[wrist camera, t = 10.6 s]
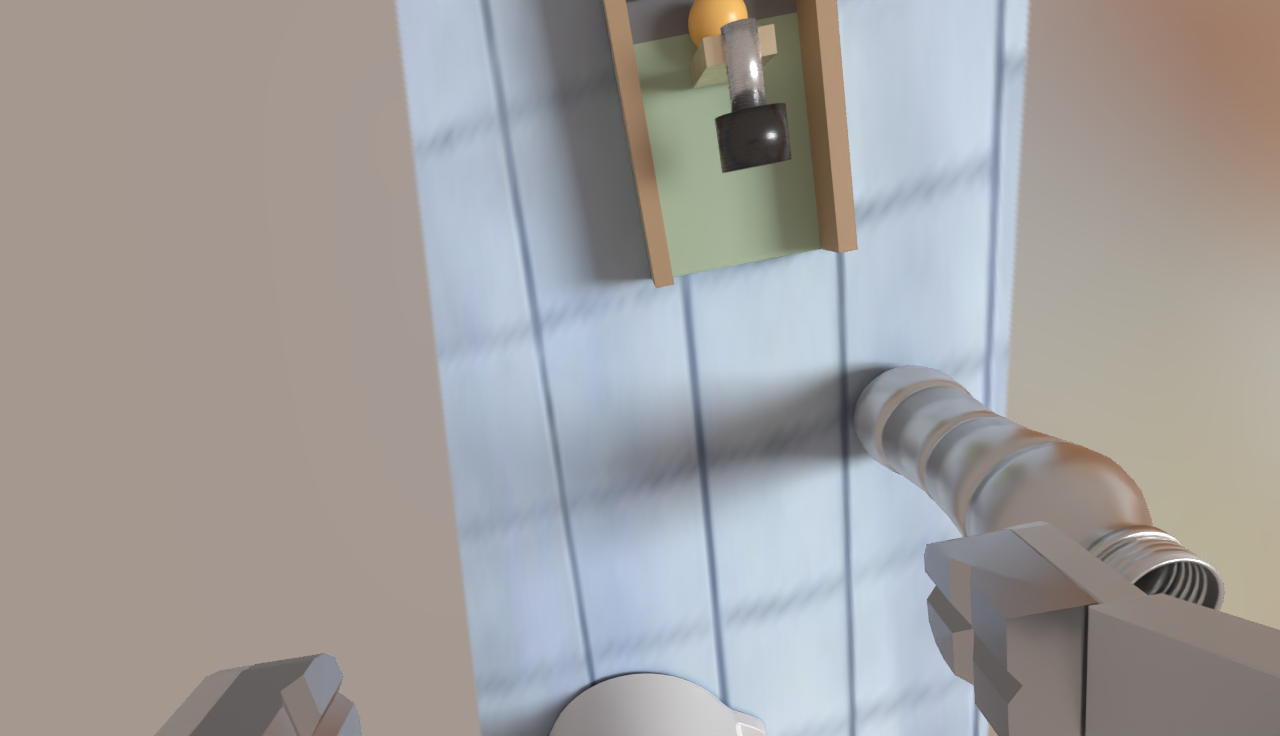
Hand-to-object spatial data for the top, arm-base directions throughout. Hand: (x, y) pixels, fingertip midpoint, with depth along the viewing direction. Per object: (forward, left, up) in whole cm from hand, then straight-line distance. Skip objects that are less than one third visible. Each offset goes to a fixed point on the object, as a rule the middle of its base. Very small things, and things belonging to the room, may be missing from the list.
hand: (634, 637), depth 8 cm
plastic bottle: (-10, -16, -29) cm, 35 cm away
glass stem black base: (+9, -7, -28) cm, 30 cm away
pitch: (+9, -7, -29) cm, 31 cm away
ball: (+13, -7, -27) cm, 31 cm away
